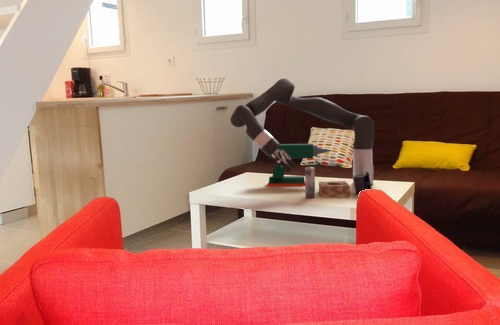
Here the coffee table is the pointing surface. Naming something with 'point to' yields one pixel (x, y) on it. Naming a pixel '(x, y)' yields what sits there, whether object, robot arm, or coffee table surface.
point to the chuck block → (334, 188)
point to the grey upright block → (309, 182)
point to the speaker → (362, 182)
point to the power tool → (294, 153)
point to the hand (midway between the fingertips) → (292, 169)
